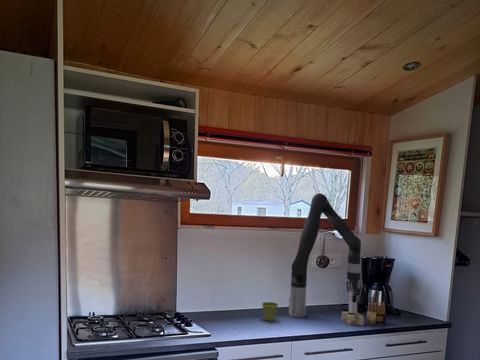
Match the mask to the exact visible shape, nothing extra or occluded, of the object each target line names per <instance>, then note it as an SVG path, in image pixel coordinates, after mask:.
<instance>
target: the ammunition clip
mask: <svg viewBox="0 0 480 360" xmlns="http://www.w3.org/2000/svg"><path fill="white" fill-rule="evenodd" d="M385 306H386V304H385V302H384V301H383V302H382V301H380V303H379V301H377V302H376V301H374V302H373V301H372V302H370V301H368V305H367V311H375V312H376V324H387V323H386V320H387V319H386V307H385Z"/></svg>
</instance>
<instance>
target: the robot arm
mask: <svg viewBox="0 0 480 360" xmlns="http://www.w3.org/2000/svg"><path fill="white" fill-rule="evenodd" d="M322 214H324V216H325V217H326V219H328V221H329V222H330V224H331V225H332V227H333V228H334V229H335V231H336V232H337V233H338V234H339V236H341V238H342V239H343V240H344V241H345V243H346V244H347V246H348V255H347V266H346V267H347V268H346V279H347V280H348V281H345V282H346V283H345V284H346V290H347V291H346V292H347V293H349V290H352V292H353V302H357V303H358V297H359V296H360V293H361V289H362V287H361V285H359V281H361V271H362V270H361V251H362V249H361V247H362V240H361V239H360V238H359V237H357V236H356V234H355V233H354V232H353V231H352V229H351V227H349V225H348V224H347V222H345V220H344V219H343V218H342V217H341V216H340V214H338V213H337V211H336V210H335V209H334V208H333V207H332V205H331V203H330V201H329V199H328V197H327V196H326V195H324V193H321V192H320V193H319V192H318V193H315V194H314V195H313V197H311V202H310V207H309V211H308V216H307V217H306V220H305V222H304V226H303V228H302V232H301V234H300V239H299V244H298V249H297V252H296V255H295V258H294V260H293V262H292V264H291V276H290V297H289V299H288V300H289V302H288V314H289V315H290V317H292V318H293V317H294V318H304V317H306V306H307V305H306V304H307V303H306V301H307V278H308V277H307V275H308V263H309V259H310V255H311V253H312V251H313V249H314V246H315V244H316V240H317V237H318V234H319V230H320V225H321V224H320V223H321V217H322ZM354 292H355V293H354Z"/></svg>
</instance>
